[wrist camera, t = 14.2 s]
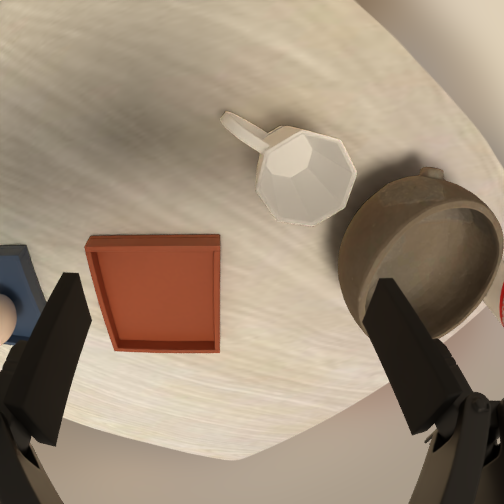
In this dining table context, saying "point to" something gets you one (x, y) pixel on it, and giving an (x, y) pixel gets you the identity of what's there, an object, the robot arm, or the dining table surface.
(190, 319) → the terracotta tray
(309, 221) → the cup
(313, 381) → the dining table surface
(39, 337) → the robot arm
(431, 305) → the bowl
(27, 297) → the blue tray
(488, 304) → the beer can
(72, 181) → the dining table surface
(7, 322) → the egg
